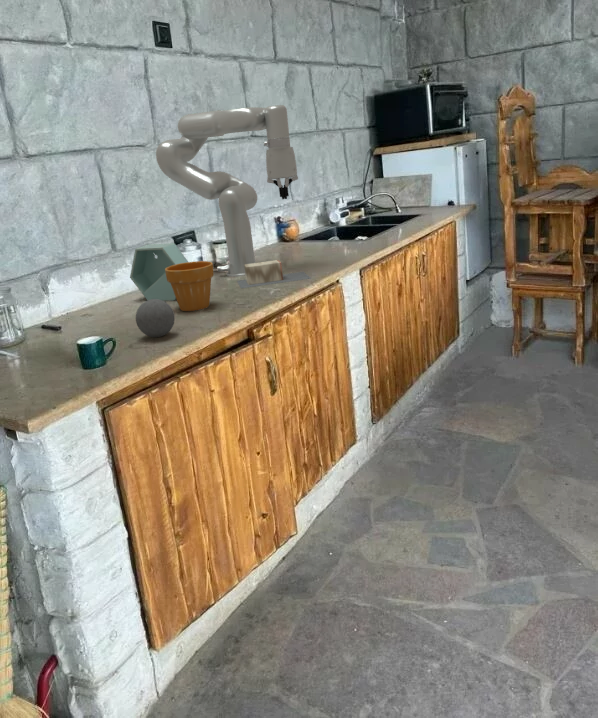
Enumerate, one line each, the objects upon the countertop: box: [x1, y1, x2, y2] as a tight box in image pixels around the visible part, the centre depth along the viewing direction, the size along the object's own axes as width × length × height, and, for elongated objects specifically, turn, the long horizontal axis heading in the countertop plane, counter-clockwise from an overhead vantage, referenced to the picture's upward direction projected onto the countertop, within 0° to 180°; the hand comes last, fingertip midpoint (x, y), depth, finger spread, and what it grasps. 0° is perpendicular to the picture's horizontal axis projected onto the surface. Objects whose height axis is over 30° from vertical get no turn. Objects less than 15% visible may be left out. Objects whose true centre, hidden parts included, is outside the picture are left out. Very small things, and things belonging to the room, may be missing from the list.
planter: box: [129, 242, 189, 302], centre depth 225 cm, size 17×8×21 cm
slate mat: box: [236, 271, 312, 289], centre depth 236 cm, size 24×14×1 cm, turn 101°
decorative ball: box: [135, 299, 176, 338], centre depth 180 cm, size 10×10×10 cm
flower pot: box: [165, 260, 215, 312], centre depth 208 cm, size 14×14×13 cm
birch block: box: [244, 259, 283, 285], centre depth 235 cm, size 6×6×12 cm
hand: (284, 198), depth 239 cm, fingers closed
